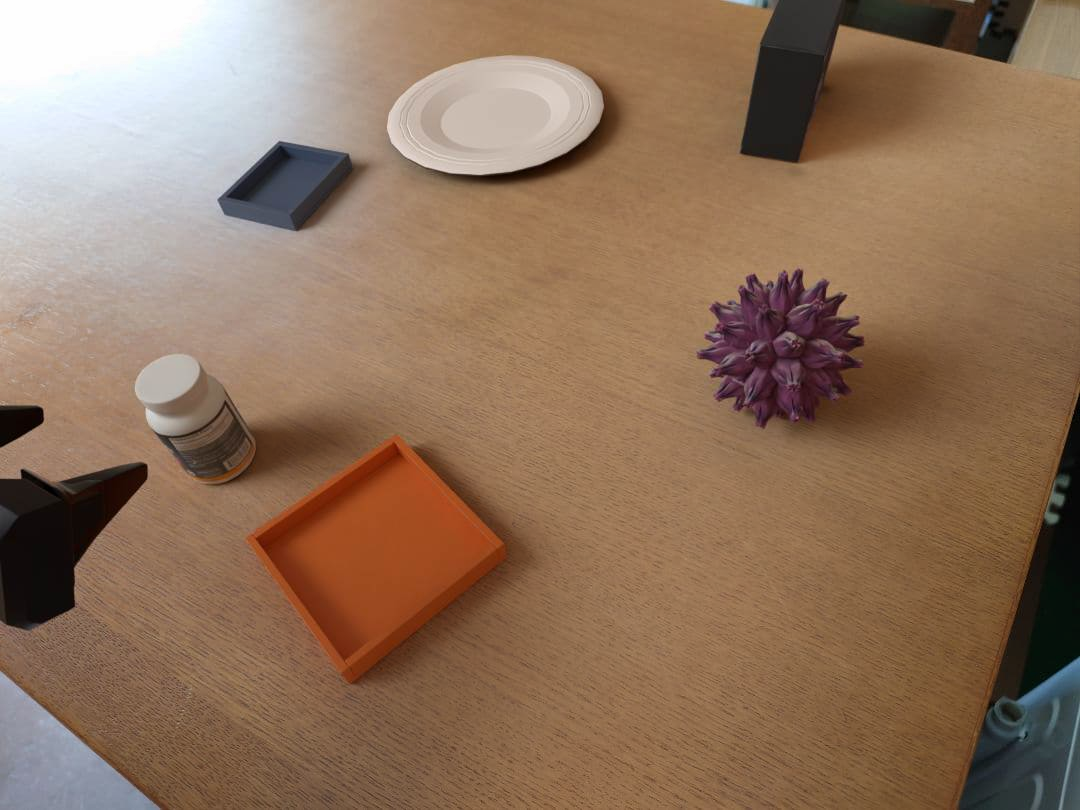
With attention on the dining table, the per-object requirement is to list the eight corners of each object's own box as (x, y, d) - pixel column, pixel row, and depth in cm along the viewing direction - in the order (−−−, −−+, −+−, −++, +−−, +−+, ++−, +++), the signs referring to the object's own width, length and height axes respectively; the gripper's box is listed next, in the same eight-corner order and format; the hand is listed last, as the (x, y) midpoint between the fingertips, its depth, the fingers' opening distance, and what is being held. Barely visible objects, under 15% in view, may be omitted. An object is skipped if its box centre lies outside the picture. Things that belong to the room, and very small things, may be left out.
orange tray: (349, 685, 50) (340, 673, 48) (254, 551, 57) (244, 538, 55) (507, 557, 55) (504, 543, 53) (402, 448, 61) (396, 433, 60)
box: (802, 165, 80) (826, 52, 71) (738, 156, 82) (752, 44, 73) (829, 82, 90) (852, -28, 80) (770, 75, 92) (787, -33, 82)
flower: (699, 457, 60) (686, 328, 66) (860, 450, 59) (833, 318, 64) (708, 388, 50) (692, 241, 55) (903, 376, 49) (867, 227, 54)
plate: (351, 171, 86) (346, 156, 85) (444, 60, 101) (441, 46, 99) (563, 203, 80) (562, 187, 78) (630, 79, 94) (630, 64, 92)
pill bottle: (183, 445, 64) (122, 364, 56) (252, 419, 65) (202, 337, 57) (192, 498, 60) (128, 419, 52) (264, 470, 61) (212, 389, 53)
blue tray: (296, 231, 80) (289, 215, 79) (224, 215, 83) (216, 199, 82) (353, 169, 87) (348, 153, 85) (285, 155, 90) (279, 140, 88)
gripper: (-184, 470, 25) (209, 364, 39) (-420, 304, 32) (-17, 262, 45) (-134, 723, 30) (204, 550, 43) (-351, 529, 37) (-2, 431, 50)
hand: (92, 440), depth 45 cm, fingers open, 9 cm apart
